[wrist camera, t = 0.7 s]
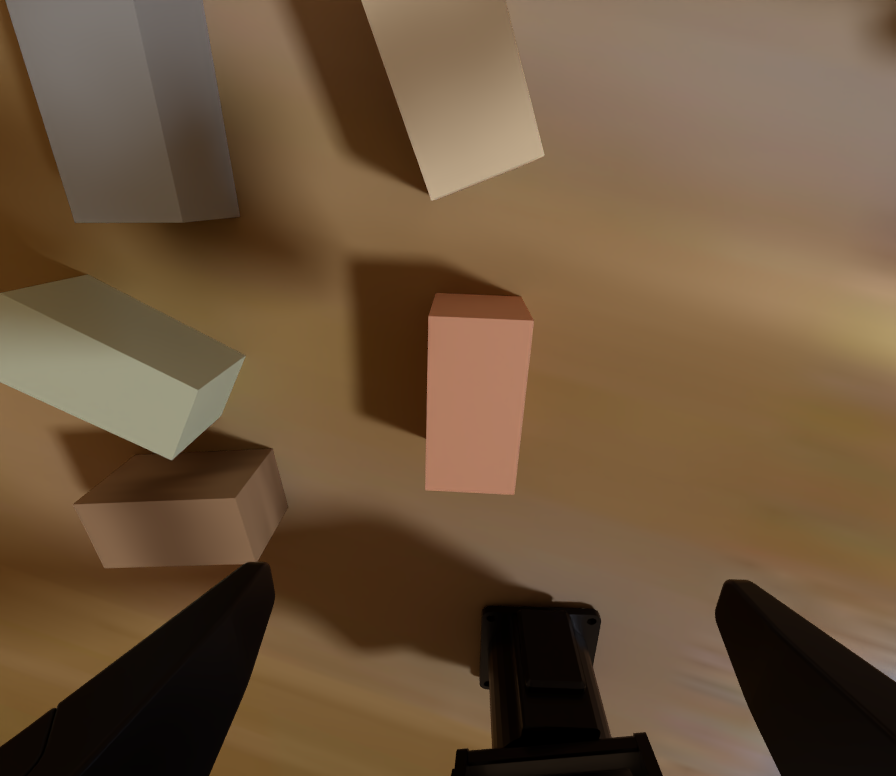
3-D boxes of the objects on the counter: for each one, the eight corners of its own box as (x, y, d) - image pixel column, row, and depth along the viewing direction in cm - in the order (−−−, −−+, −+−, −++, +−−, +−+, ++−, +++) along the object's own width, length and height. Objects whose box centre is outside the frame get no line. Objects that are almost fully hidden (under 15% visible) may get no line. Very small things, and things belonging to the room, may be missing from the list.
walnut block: (273, 446, 22) (235, 498, 18) (289, 505, 23) (256, 563, 20) (137, 453, 22) (72, 504, 19) (160, 510, 24) (104, 568, 20)
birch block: (527, 163, 17) (544, 155, 13) (438, 199, 17) (431, 200, 14) (464, -70, 14) (464, -163, 10) (363, -20, 15) (329, -90, 11)
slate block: (241, 216, 18) (182, 222, 14) (155, 216, 18) (74, 222, 14) (202, -9, 15) (116, -74, 11) (100, -7, 15) (-17, -70, 11)
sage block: (247, 354, 20) (198, 390, 16) (222, 414, 21) (171, 460, 18) (90, 273, 19) (-1, 292, 15) (73, 342, 20) (-14, 375, 16)
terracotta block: (505, 443, 21) (514, 494, 18) (432, 439, 21) (425, 490, 18) (520, 295, 19) (533, 320, 15) (435, 292, 19) (428, 316, 15)
